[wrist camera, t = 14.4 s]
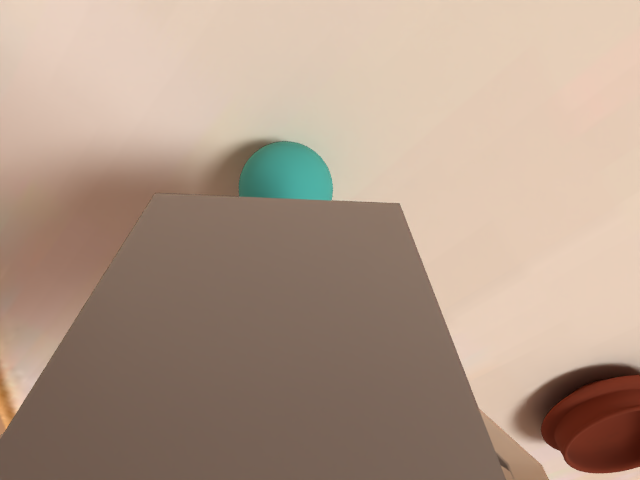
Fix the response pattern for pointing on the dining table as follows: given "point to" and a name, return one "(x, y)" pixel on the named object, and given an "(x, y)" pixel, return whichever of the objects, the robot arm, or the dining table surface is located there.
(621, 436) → the pottery
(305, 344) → the grey matte cube
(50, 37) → the dining table surface
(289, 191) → the ball
